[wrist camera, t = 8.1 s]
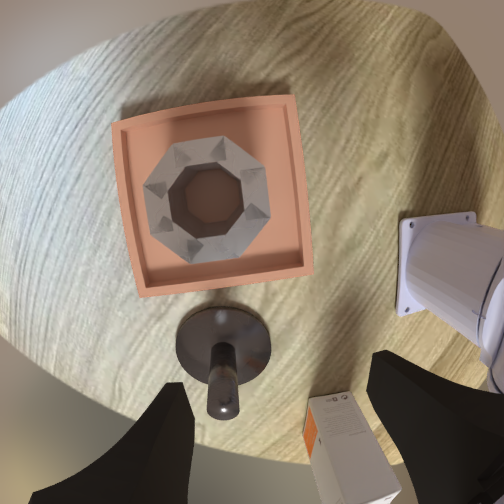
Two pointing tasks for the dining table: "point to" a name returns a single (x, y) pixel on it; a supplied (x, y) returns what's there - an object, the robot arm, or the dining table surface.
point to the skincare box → (346, 453)
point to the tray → (217, 192)
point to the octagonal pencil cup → (187, 224)
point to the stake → (223, 354)
